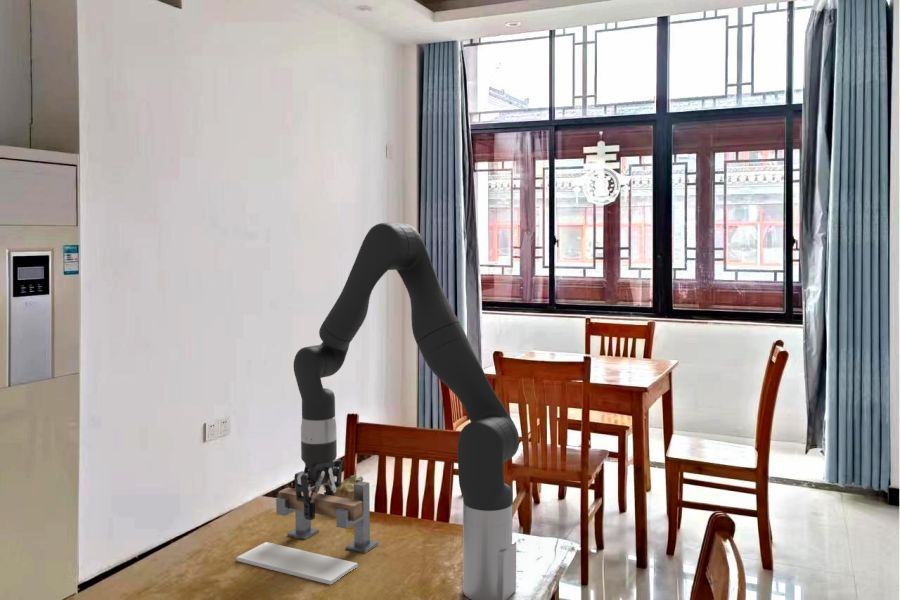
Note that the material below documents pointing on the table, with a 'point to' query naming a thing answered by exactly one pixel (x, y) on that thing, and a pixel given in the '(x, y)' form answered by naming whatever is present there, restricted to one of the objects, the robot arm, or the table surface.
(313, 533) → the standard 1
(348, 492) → the onion
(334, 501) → the rail
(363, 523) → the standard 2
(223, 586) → the table surface
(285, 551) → the mat
